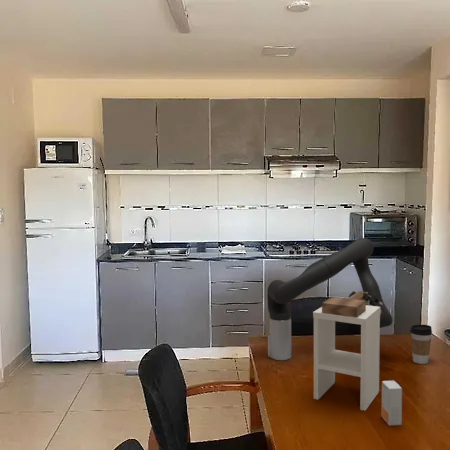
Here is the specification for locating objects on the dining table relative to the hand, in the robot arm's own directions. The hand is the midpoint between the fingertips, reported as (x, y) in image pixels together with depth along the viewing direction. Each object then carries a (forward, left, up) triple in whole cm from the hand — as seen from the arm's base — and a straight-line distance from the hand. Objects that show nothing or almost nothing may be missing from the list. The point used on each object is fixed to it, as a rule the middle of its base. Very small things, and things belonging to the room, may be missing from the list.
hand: (358, 294), depth 181 cm
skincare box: (+18, -24, -34) cm, 45 cm away
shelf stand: (0, -13, -34) cm, 36 cm away
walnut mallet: (0, -8, -3) cm, 8 cm away
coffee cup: (+16, +34, -34) cm, 51 cm away
